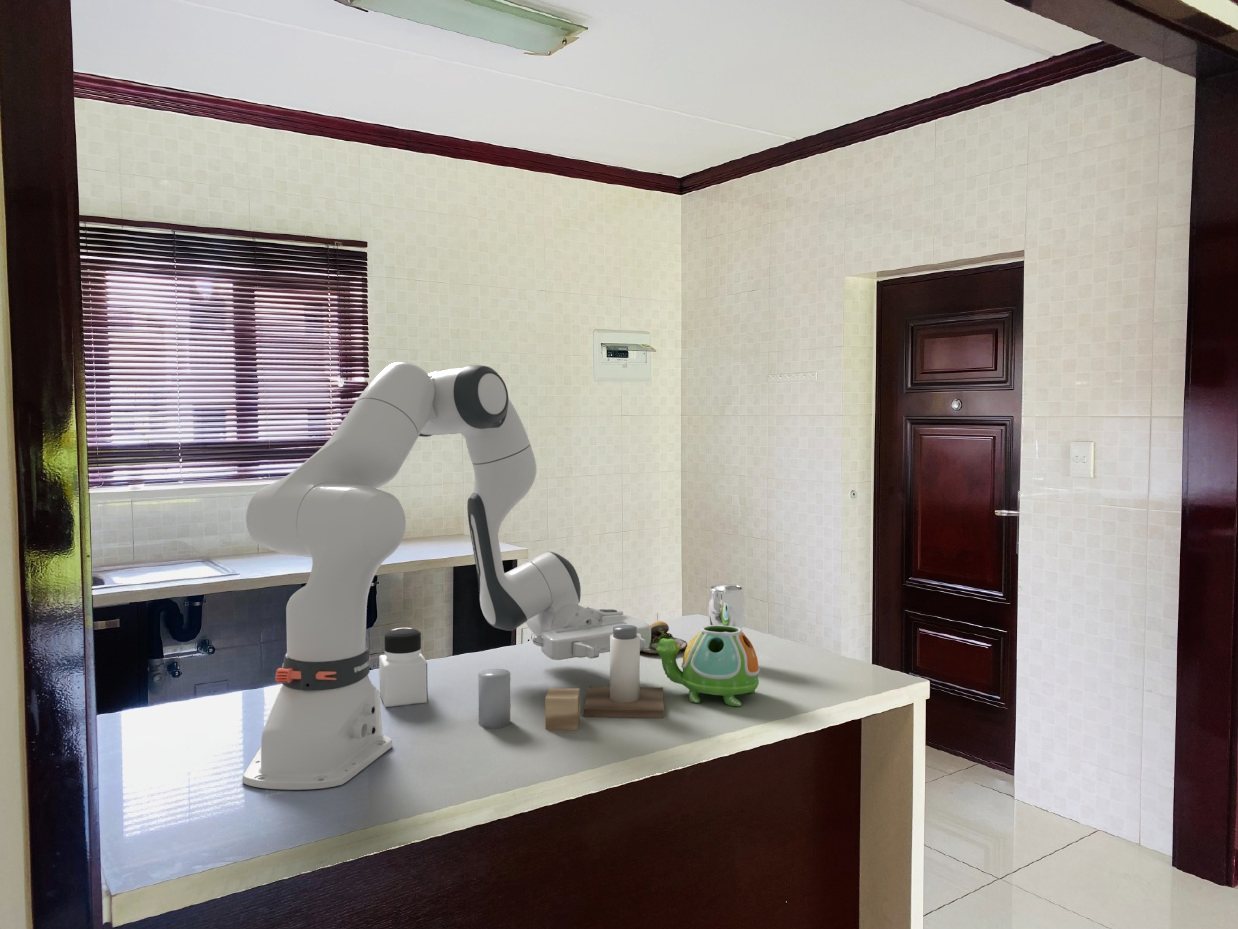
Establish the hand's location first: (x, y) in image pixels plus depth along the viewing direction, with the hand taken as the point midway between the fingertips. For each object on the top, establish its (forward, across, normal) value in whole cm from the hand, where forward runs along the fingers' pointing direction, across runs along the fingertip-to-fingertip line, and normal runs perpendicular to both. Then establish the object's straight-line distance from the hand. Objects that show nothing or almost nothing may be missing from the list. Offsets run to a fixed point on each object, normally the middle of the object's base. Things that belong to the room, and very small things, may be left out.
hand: (619, 649), depth 154 cm
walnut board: (+2, 0, +9) cm, 9 cm away
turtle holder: (+5, +16, +9) cm, 19 cm away
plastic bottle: (+2, 0, +8) cm, 8 cm away
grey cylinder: (-2, -22, +9) cm, 24 cm away
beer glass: (-9, +30, +9) cm, 33 cm away
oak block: (+4, -13, +9) cm, 17 cm away
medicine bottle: (-20, -31, +9) cm, 38 cm away
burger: (-24, +24, +10) cm, 36 cm away
